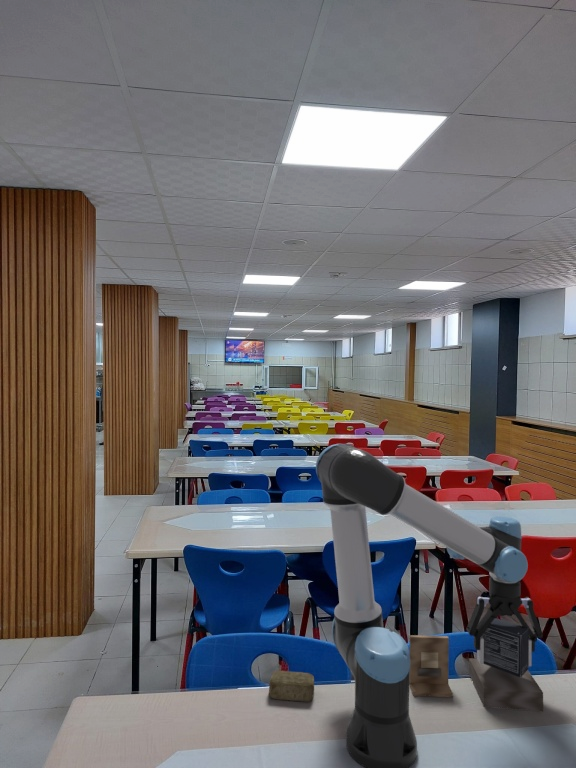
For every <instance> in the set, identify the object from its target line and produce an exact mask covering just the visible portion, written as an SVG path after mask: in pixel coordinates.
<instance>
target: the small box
mask: <svg viewBox="0 0 576 768" xmlns="http://www.w3.org/2000/svg"><path fill="white" fill-rule="evenodd" d="M529 628H530V627H529ZM529 628H524V627H523V626H521V624H516V623H512V622H510V621H506V620H503V619H499V618H498V617H497V618H495V619H494V620H493V621H492V623H491V624H490V625H489V627H488V628H487V629H486V631H485V632H484V633H483V635H482V637H483V639H484V664H486V665H488V666H491V667H494V668H496V669H499V670H502V671H504V672H507V673H510V674H512V675H515V676H517V677H522V675H523V674H524V673H525V672H526V671H527V670H528V671H529V668H530V666H529Z"/></svg>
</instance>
